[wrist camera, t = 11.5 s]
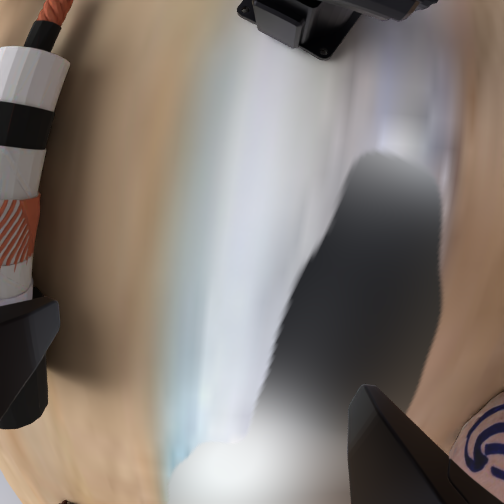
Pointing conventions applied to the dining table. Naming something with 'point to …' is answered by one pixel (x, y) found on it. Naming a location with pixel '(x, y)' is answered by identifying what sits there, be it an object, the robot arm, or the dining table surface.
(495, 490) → the ceramic pitcher
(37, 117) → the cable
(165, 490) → the dining table surface
